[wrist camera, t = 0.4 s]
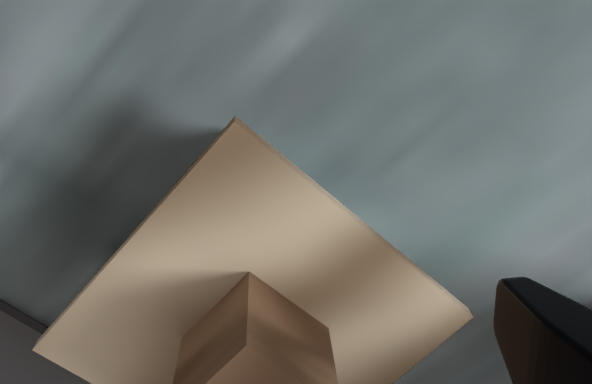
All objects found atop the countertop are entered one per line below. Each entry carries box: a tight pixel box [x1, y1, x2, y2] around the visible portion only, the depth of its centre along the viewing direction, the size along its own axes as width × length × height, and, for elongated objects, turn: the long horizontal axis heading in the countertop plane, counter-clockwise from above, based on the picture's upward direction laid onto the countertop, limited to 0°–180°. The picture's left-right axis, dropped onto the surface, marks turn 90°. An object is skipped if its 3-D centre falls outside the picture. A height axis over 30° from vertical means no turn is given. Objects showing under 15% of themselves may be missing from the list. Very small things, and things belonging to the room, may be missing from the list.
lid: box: [32, 116, 473, 384], centre depth 19 cm, size 12×12×5 cm
